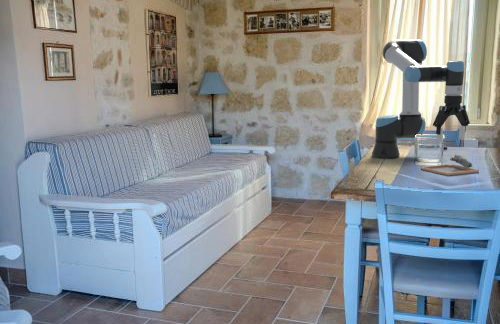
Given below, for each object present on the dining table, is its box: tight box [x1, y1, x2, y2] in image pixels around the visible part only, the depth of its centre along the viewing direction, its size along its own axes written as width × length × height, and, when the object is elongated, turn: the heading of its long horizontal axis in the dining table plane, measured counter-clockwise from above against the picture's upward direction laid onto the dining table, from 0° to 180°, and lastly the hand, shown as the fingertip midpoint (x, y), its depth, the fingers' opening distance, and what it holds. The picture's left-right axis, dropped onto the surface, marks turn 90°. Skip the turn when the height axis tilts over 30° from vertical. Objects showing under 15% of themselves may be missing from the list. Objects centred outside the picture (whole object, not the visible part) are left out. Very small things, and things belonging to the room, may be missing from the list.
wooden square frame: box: [420, 163, 480, 177], centre depth 228 cm, size 18×18×1 cm
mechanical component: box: [449, 154, 473, 168], centre depth 232 cm, size 3×10×10 cm
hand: (450, 140), depth 226 cm, fingers open, 13 cm apart
